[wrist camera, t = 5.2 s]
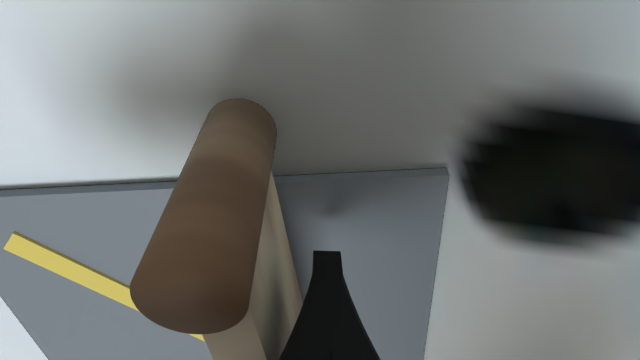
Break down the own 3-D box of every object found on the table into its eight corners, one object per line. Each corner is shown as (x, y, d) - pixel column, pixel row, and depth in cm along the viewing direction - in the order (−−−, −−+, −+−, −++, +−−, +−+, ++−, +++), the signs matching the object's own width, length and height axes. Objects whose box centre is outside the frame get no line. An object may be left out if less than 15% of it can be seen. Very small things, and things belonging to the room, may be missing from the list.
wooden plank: (328, 373, 19) (330, 536, 15) (283, 376, 19) (272, 538, 15) (269, 94, 11) (233, 252, 7) (196, 103, 12) (109, 263, 7)
